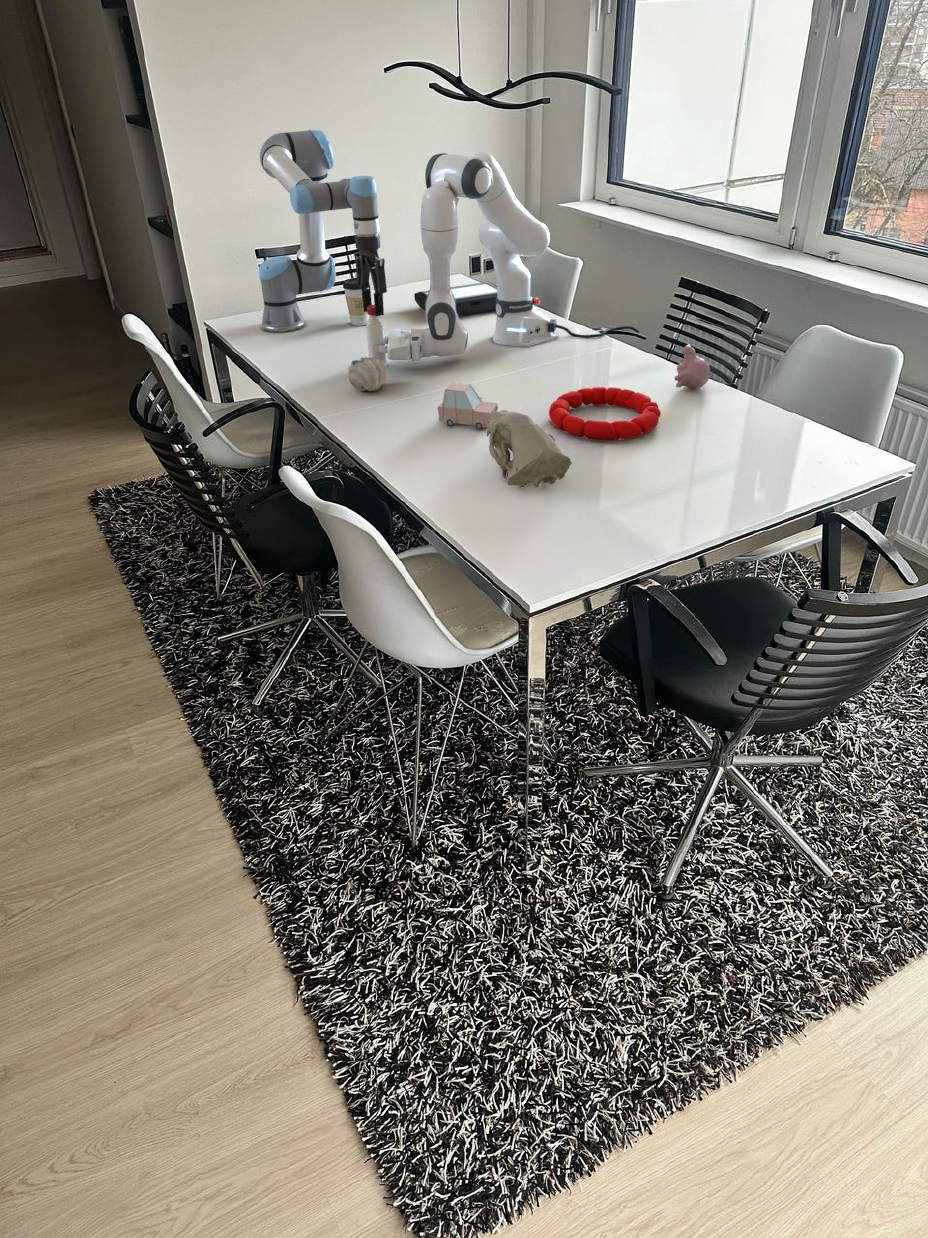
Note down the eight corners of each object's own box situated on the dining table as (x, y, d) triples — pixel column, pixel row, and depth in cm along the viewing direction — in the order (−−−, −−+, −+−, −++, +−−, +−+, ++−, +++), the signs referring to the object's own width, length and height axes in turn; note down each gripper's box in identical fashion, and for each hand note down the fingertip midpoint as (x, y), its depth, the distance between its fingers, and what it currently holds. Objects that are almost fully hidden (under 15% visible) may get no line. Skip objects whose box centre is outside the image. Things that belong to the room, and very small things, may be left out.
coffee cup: (372, 326, 323) (368, 283, 314) (345, 327, 323) (340, 284, 315) (374, 318, 331) (371, 276, 322) (348, 319, 331) (344, 277, 323)
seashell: (340, 389, 270) (336, 357, 264) (385, 380, 276) (382, 348, 270) (353, 400, 262) (350, 366, 257) (399, 390, 268) (397, 357, 262)
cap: (376, 315, 276) (376, 308, 275) (365, 314, 277) (364, 307, 276) (382, 312, 279) (381, 304, 278) (371, 311, 280) (370, 304, 279)
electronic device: (434, 303, 323) (414, 291, 338) (435, 321, 326) (415, 307, 341) (513, 291, 333) (490, 280, 348) (512, 308, 336) (490, 296, 352)
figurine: (665, 387, 264) (669, 347, 257) (693, 380, 268) (698, 340, 261) (686, 396, 257) (690, 355, 250) (714, 388, 262) (720, 348, 255)
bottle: (378, 361, 291) (373, 304, 281) (390, 365, 288) (386, 307, 277) (366, 366, 287) (360, 308, 277) (378, 369, 284) (373, 311, 274)
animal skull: (496, 517, 219) (521, 479, 201) (463, 429, 225) (484, 384, 207) (557, 503, 225) (586, 465, 206) (523, 417, 231) (549, 373, 212)
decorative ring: (589, 435, 224) (684, 402, 234) (527, 398, 247) (617, 369, 256) (589, 461, 229) (683, 427, 238) (529, 422, 251) (617, 393, 260)
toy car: (488, 432, 240) (488, 396, 234) (436, 426, 244) (434, 390, 239) (499, 419, 247) (499, 384, 241) (448, 413, 252) (447, 379, 246)
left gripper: (339, 231, 270) (347, 309, 283) (373, 240, 257) (380, 322, 270) (360, 227, 273) (367, 304, 286) (395, 236, 261) (400, 317, 274)
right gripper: (416, 323, 291) (374, 325, 291) (416, 343, 274) (371, 344, 274) (417, 342, 294) (375, 344, 294) (417, 363, 277) (373, 365, 277)
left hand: (373, 312), depth 278 cm, fingers open, 6 cm apart
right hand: (373, 344), depth 284 cm, fingers closed on bottle, 5 cm apart
